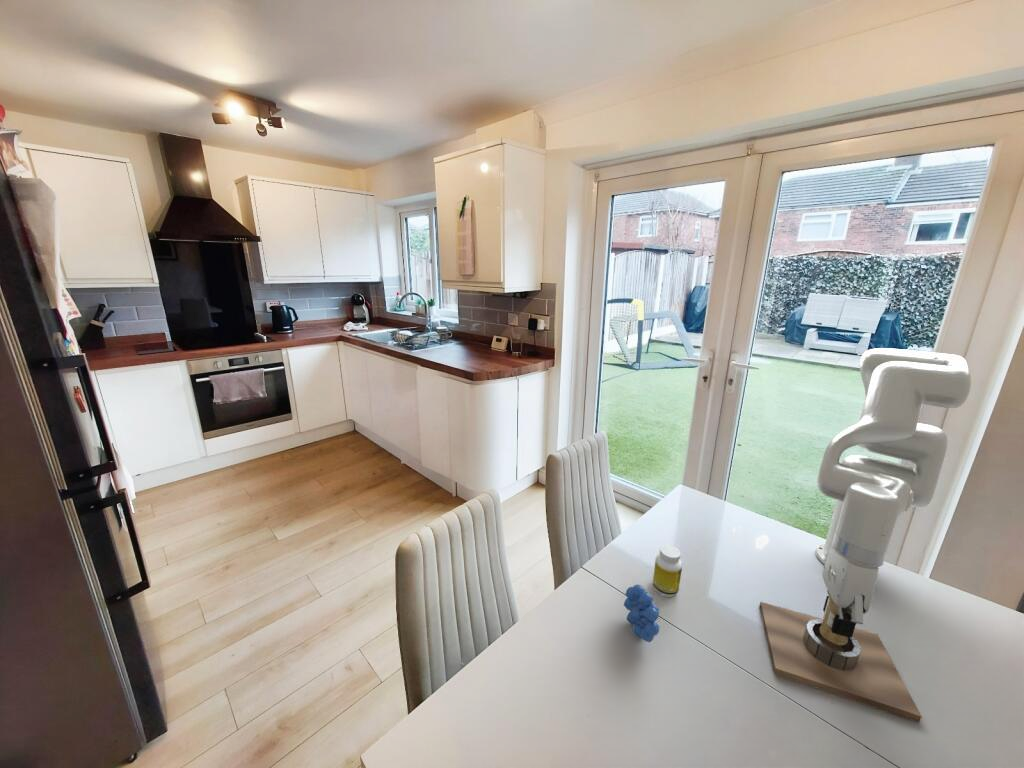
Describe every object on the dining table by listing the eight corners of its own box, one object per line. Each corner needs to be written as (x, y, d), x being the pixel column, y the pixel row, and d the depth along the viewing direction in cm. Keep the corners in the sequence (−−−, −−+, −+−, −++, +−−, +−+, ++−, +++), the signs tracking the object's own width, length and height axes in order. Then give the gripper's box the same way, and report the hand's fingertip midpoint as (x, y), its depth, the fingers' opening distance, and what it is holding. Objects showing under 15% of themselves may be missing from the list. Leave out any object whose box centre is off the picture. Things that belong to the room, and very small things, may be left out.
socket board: (759, 606, 94) (760, 601, 94) (876, 639, 86) (877, 634, 85) (774, 673, 78) (775, 668, 78) (919, 722, 70) (921, 716, 69)
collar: (799, 626, 87) (802, 614, 86) (847, 640, 84) (851, 627, 83) (809, 660, 79) (813, 646, 78) (863, 677, 76) (867, 663, 75)
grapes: (671, 654, 82) (678, 608, 79) (641, 660, 81) (647, 613, 77) (642, 609, 93) (647, 567, 90) (616, 614, 92) (620, 571, 88)
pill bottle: (680, 600, 96) (686, 561, 93) (654, 595, 97) (659, 557, 94) (675, 581, 102) (681, 544, 99) (650, 577, 103) (655, 541, 100)
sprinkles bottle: (832, 647, 78) (848, 591, 75) (813, 627, 83) (827, 573, 79) (853, 645, 79) (870, 590, 75) (833, 626, 83) (848, 572, 79)
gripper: (821, 518, 84) (803, 589, 89) (850, 570, 69) (827, 652, 74) (865, 527, 81) (844, 600, 86) (906, 583, 66) (878, 667, 71)
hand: (836, 623), depth 80 cm, fingers closed on sprinkles bottle, 4 cm apart
